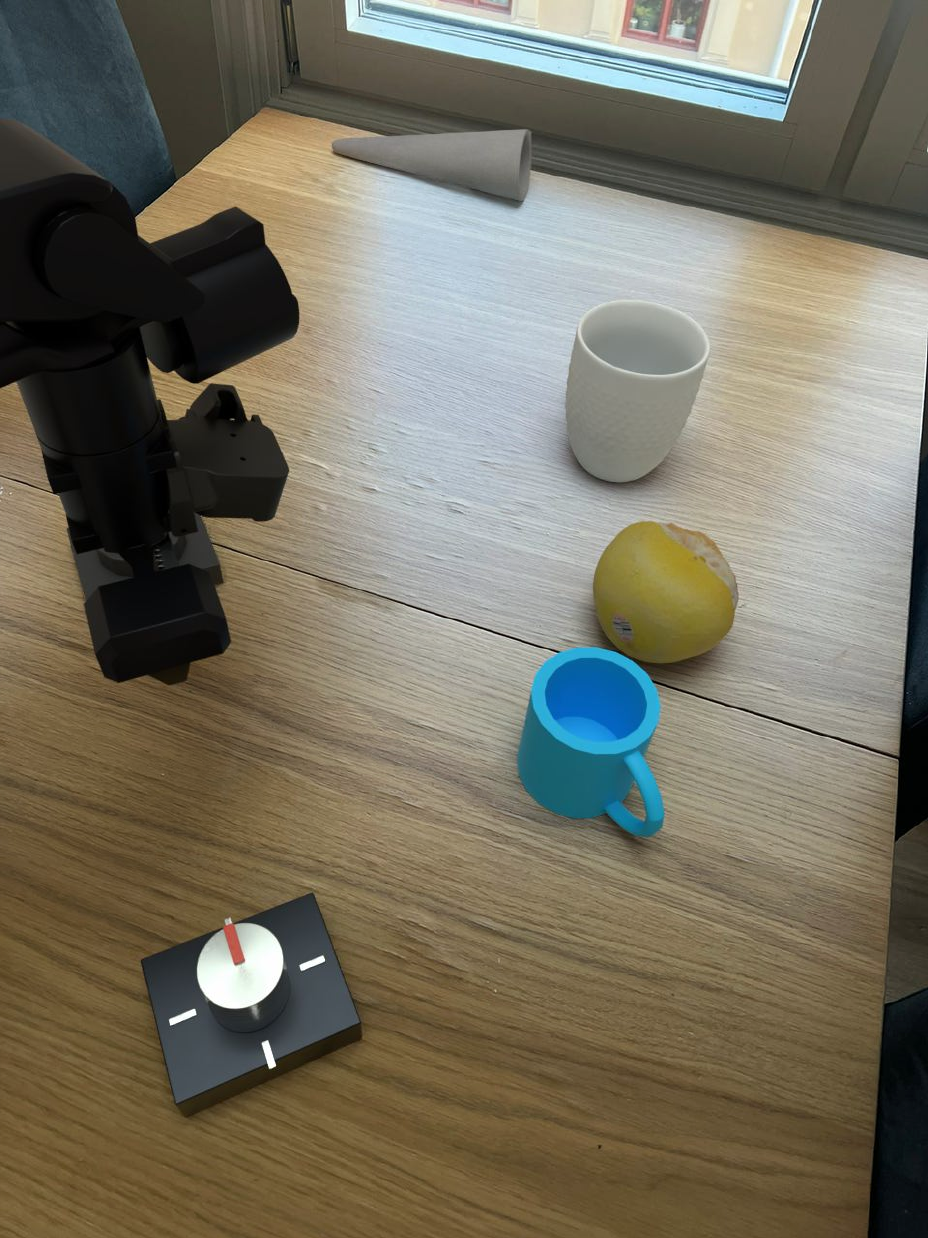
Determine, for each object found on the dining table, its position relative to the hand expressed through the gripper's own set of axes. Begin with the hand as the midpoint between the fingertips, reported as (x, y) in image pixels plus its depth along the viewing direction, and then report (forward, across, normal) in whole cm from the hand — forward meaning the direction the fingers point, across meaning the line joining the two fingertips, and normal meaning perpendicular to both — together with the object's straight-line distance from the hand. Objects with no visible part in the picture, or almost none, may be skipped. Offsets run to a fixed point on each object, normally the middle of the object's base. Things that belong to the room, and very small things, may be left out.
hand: (160, 622), depth 56 cm
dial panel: (+11, -20, +1) cm, 23 cm away
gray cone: (+12, +70, -45) cm, 84 cm away
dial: (+8, -20, +1) cm, 22 cm away
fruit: (+12, -4, -35) cm, 37 cm away
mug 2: (+11, -15, -24) cm, 30 cm away
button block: (+11, +16, 0) cm, 19 cm away
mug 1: (+12, +16, -42) cm, 46 cm away
